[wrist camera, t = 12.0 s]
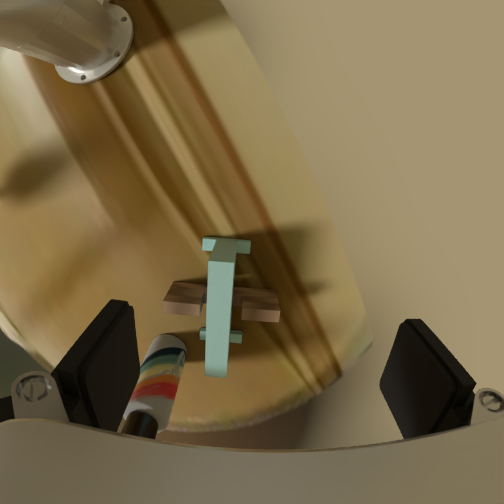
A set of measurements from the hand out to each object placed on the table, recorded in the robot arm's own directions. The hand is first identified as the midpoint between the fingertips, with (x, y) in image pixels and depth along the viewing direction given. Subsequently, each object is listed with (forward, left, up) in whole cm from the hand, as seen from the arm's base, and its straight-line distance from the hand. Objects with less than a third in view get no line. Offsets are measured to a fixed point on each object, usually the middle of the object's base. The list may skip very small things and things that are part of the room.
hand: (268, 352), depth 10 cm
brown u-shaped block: (+12, -3, -30) cm, 33 cm away
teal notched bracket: (+12, -3, -30) cm, 33 cm away
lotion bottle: (+23, -11, -31) cm, 40 cm away
